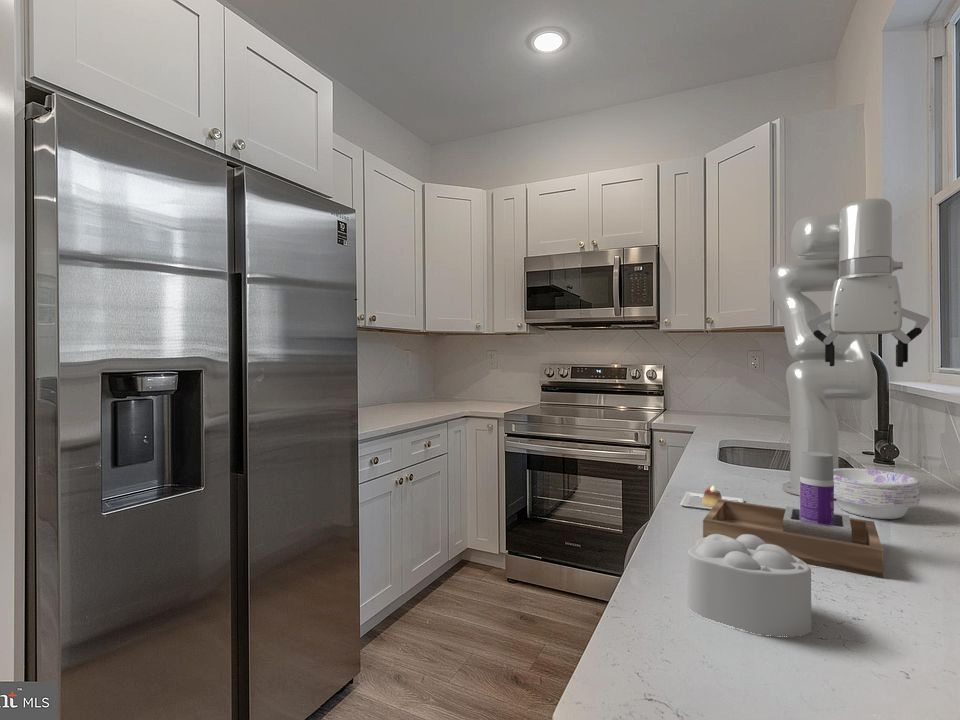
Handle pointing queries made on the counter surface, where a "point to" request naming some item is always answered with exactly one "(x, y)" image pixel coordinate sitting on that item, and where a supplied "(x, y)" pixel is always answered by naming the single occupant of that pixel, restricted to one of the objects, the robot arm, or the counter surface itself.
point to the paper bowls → (875, 492)
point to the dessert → (707, 498)
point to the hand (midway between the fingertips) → (864, 366)
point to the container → (817, 488)
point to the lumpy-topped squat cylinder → (749, 585)
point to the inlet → (818, 526)
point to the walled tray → (799, 537)
